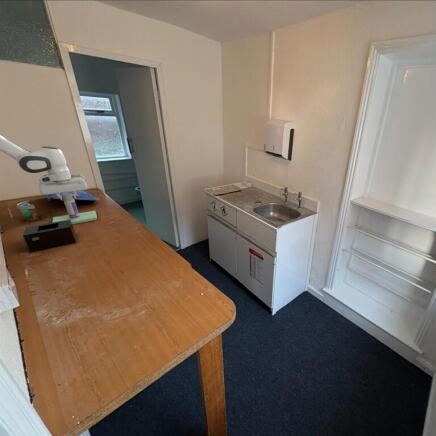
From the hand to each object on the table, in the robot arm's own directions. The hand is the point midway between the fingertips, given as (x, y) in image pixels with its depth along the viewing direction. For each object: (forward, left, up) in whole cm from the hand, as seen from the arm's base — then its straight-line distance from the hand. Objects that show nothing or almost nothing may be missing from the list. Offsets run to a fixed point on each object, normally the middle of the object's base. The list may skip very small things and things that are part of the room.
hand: (68, 199), depth 137 cm
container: (0, 0, -12) cm, 12 cm away
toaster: (-8, -30, -13) cm, 34 cm away
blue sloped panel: (-4, +42, -18) cm, 45 cm away
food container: (-21, +15, -13) cm, 29 cm away
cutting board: (0, 0, -13) cm, 13 cm away
